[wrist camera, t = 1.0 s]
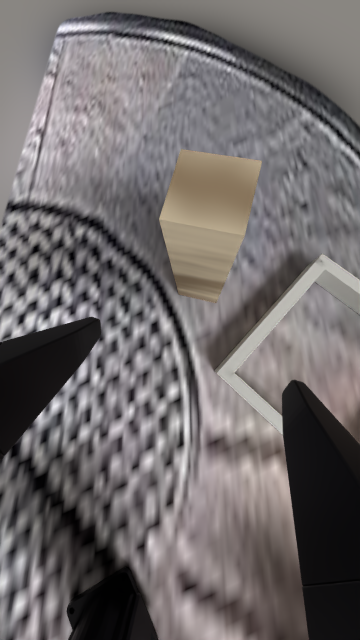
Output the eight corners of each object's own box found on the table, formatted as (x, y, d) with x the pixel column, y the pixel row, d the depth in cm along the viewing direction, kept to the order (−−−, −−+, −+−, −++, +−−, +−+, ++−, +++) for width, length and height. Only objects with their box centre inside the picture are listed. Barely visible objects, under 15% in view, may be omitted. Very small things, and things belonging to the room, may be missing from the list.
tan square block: (216, 303, 22) (244, 235, 10) (178, 294, 23) (158, 219, 10) (224, 267, 23) (262, 161, 10) (188, 260, 24) (181, 149, 11)
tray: (346, 494, 18) (369, 515, 16) (214, 371, 21) (216, 373, 19) (445, 364, 20) (481, 365, 17) (308, 264, 22) (322, 253, 20)
